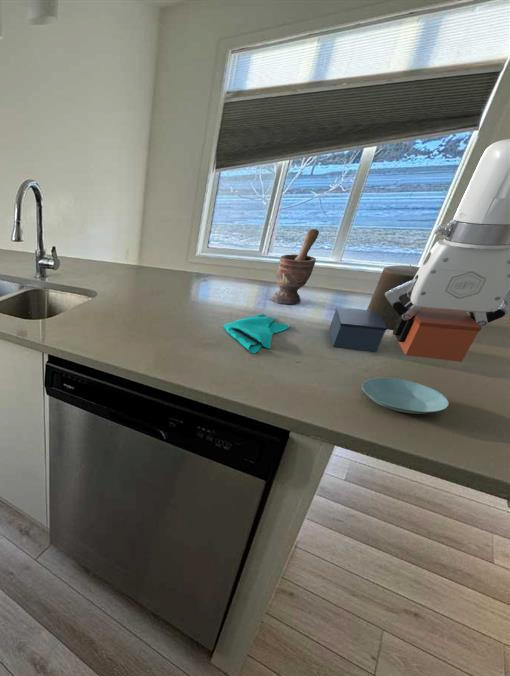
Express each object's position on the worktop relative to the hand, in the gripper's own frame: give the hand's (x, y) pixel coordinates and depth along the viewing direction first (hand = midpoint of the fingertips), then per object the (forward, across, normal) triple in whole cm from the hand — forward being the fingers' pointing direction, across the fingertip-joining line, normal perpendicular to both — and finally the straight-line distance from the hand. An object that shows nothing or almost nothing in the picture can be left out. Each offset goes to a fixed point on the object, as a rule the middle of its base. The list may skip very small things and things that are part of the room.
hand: (428, 341), depth 69 cm
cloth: (+13, -25, +27) cm, 39 cm away
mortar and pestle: (+13, -17, +57) cm, 61 cm away
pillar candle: (+13, +5, +44) cm, 46 cm away
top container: (+1, 0, 0) cm, 1 cm away
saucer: (+13, 0, 0) cm, 13 cm away
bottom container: (+13, -4, +29) cm, 32 cm away
